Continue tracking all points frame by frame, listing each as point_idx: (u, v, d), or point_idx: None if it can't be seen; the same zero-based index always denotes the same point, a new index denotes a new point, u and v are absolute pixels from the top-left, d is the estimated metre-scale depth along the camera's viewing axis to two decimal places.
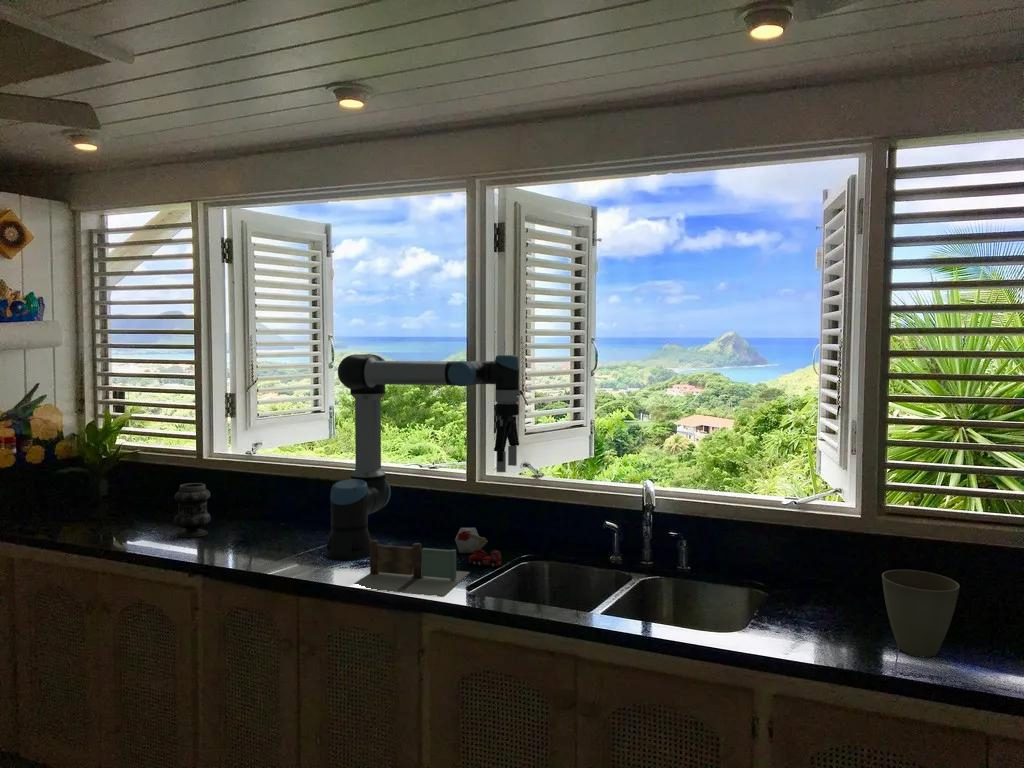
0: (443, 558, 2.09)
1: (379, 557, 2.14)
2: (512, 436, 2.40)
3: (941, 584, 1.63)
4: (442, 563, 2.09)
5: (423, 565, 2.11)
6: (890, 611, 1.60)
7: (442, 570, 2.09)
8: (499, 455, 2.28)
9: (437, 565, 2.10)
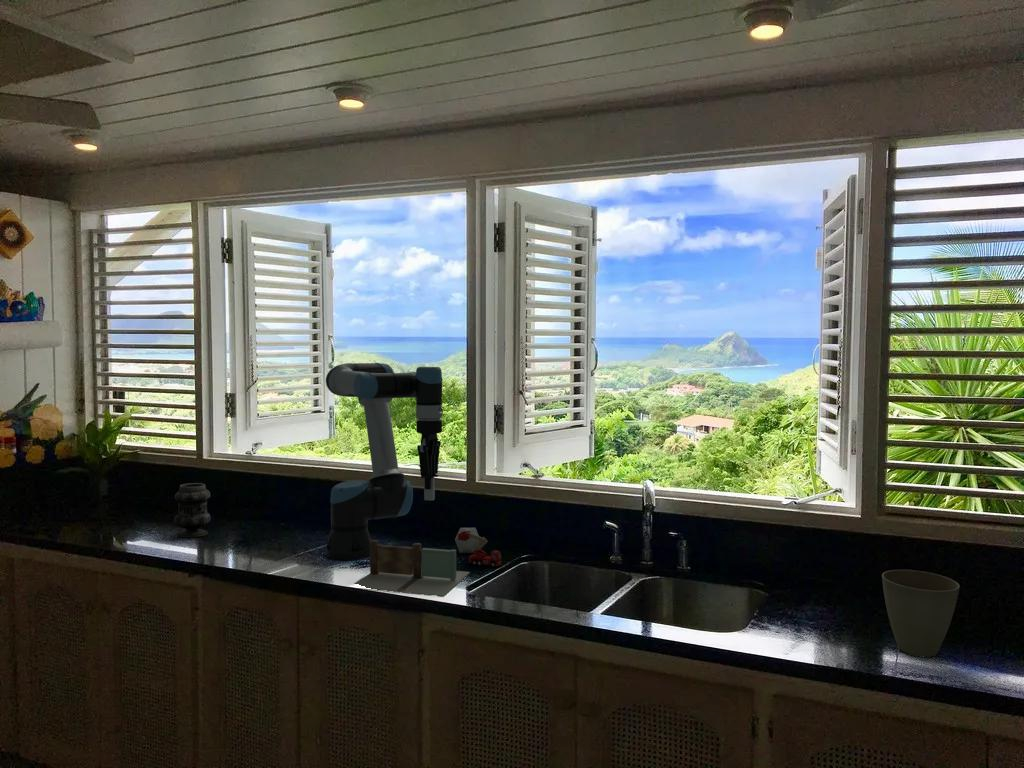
0: (443, 558, 2.09)
1: (379, 557, 2.14)
2: (432, 461, 2.15)
3: (941, 584, 1.63)
4: (442, 563, 2.09)
5: (423, 565, 2.11)
6: (890, 611, 1.60)
7: (442, 570, 2.09)
8: (426, 482, 2.12)
9: (437, 565, 2.10)
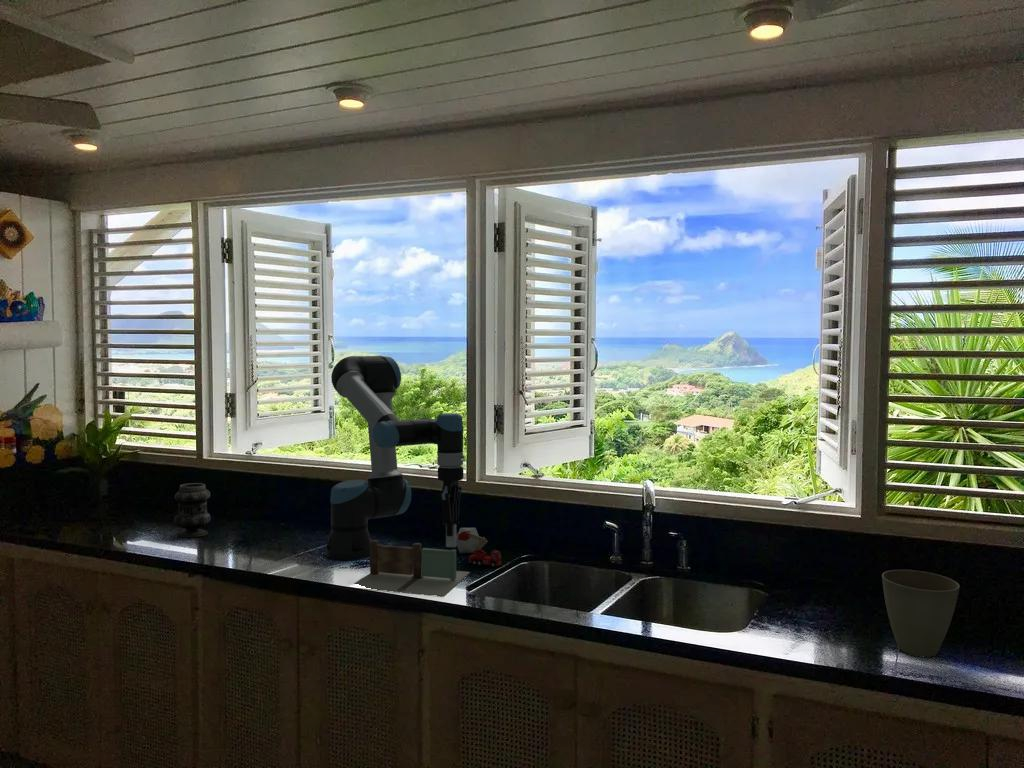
0: (443, 558, 2.09)
1: (379, 557, 2.14)
2: (453, 507, 2.15)
3: (941, 584, 1.63)
4: (442, 563, 2.09)
5: (423, 565, 2.11)
6: (890, 610, 1.60)
7: (442, 570, 2.09)
8: (448, 529, 2.13)
9: (437, 565, 2.10)
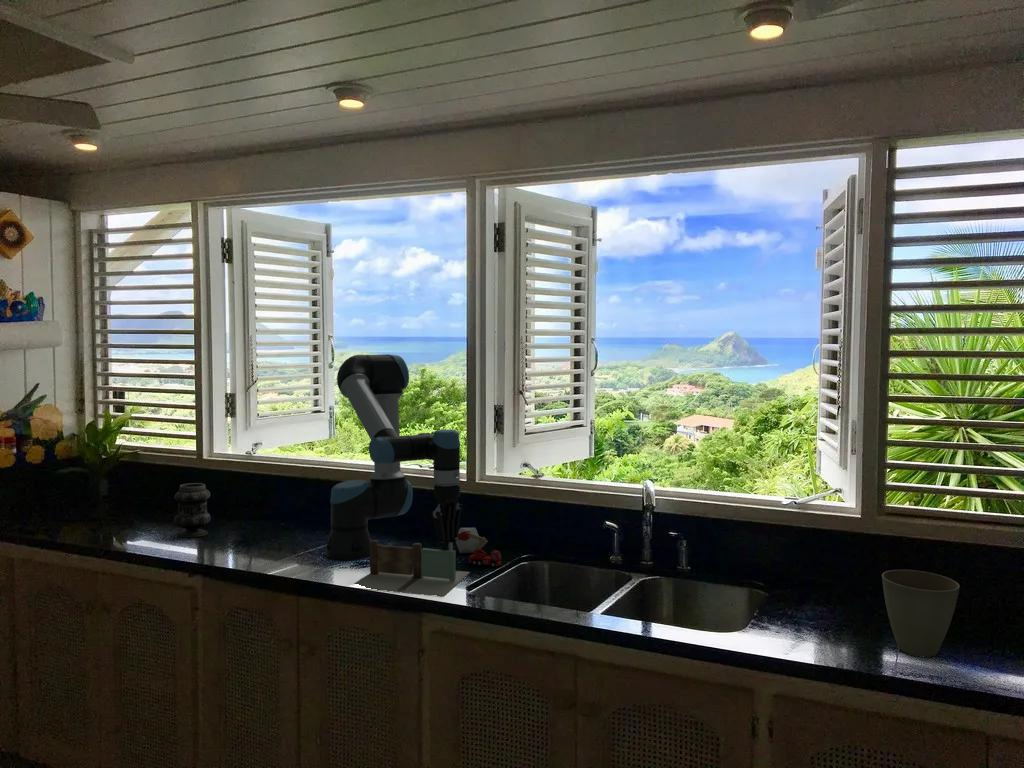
0: (442, 558, 2.09)
1: (379, 557, 2.14)
2: (450, 525, 2.12)
3: (941, 584, 1.63)
4: (441, 563, 2.09)
5: (423, 565, 2.11)
6: (890, 610, 1.60)
7: (441, 570, 2.09)
8: (443, 547, 2.11)
9: (436, 565, 2.09)
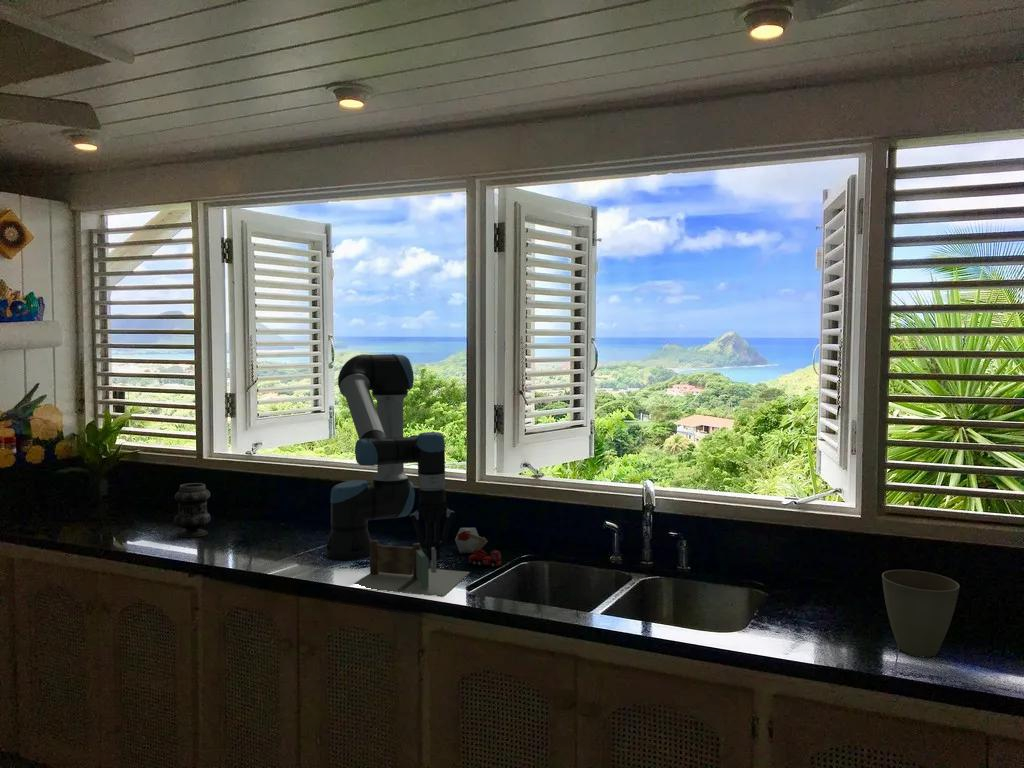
0: (420, 563, 2.04)
1: (379, 557, 2.14)
2: (435, 532, 2.04)
3: (941, 584, 1.63)
4: (420, 568, 2.04)
5: (416, 566, 2.10)
6: (890, 610, 1.60)
7: (420, 575, 2.04)
8: (427, 553, 2.05)
9: (419, 569, 2.06)
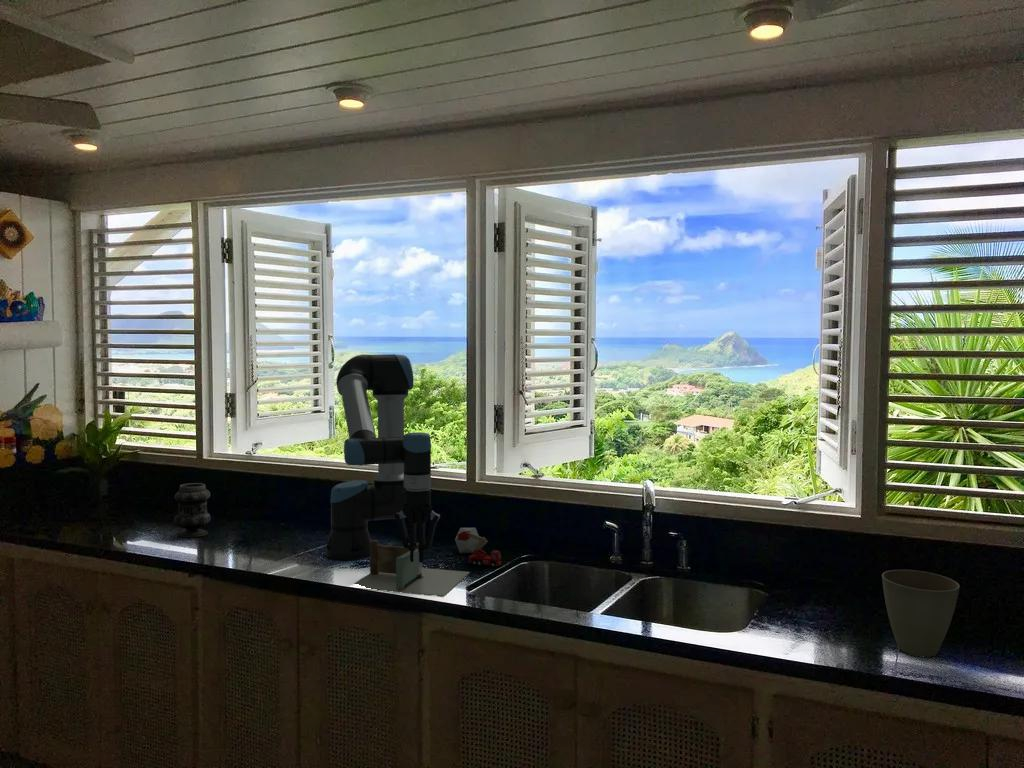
0: None
1: (379, 557, 2.14)
2: None
3: (941, 584, 1.63)
4: None
5: None
6: (890, 610, 1.60)
7: None
8: None
9: None
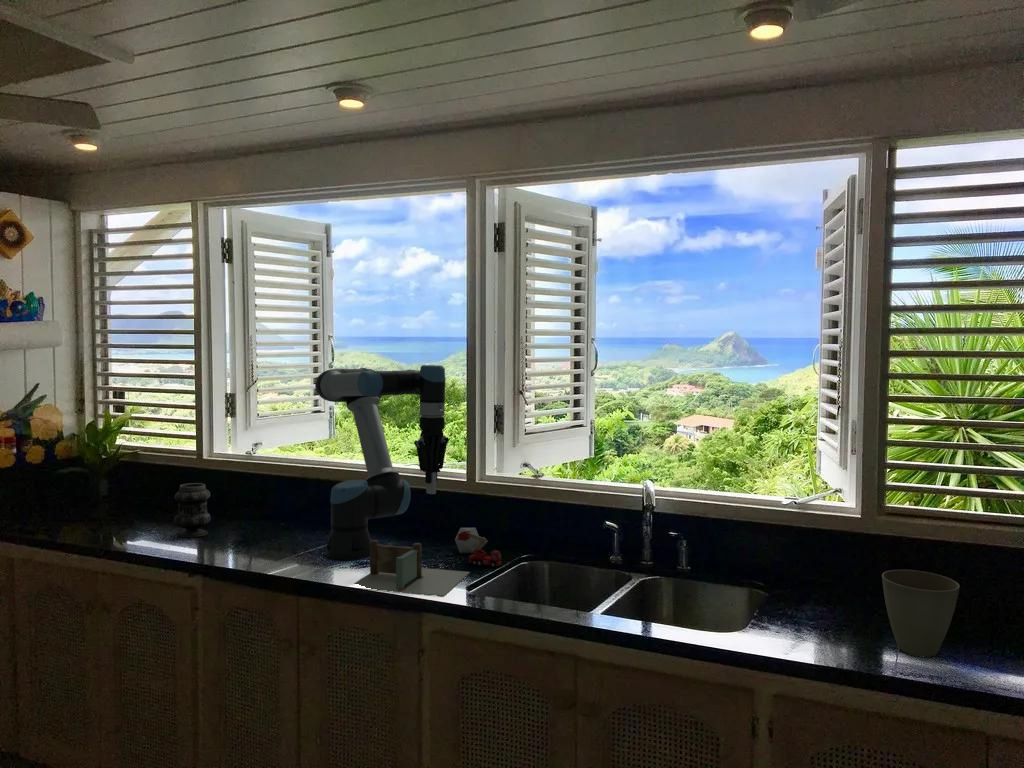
0: None
1: (379, 557, 2.14)
2: (434, 456, 2.22)
3: (941, 584, 1.63)
4: None
5: None
6: (890, 610, 1.60)
7: None
8: (426, 476, 2.21)
9: None
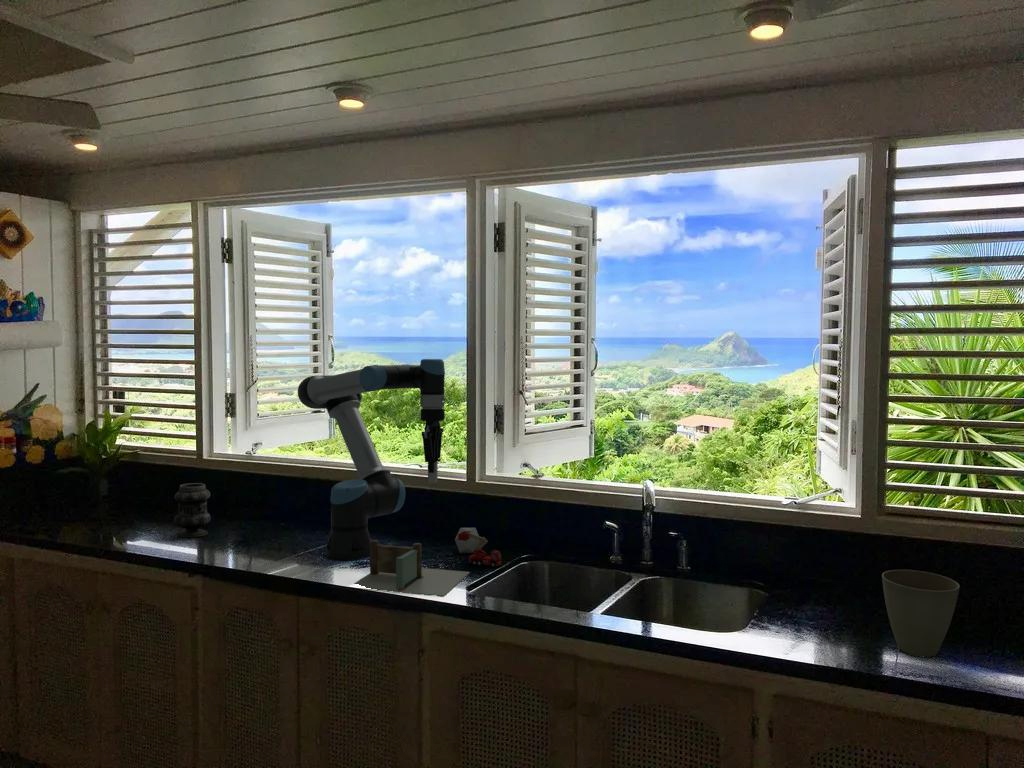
0: None
1: (379, 557, 2.14)
2: (435, 446, 2.31)
3: (941, 584, 1.63)
4: None
5: None
6: (890, 611, 1.60)
7: None
8: (430, 466, 2.29)
9: None
